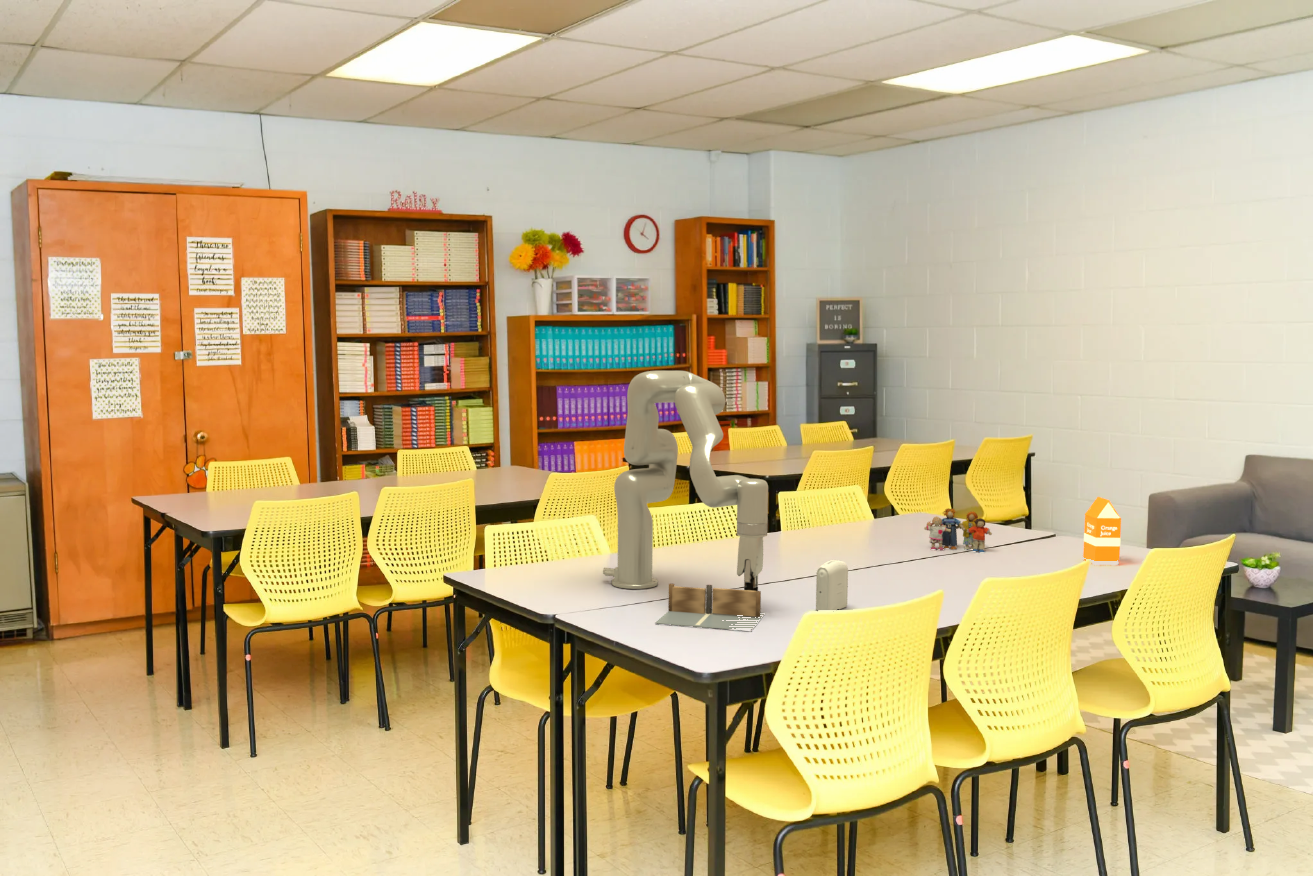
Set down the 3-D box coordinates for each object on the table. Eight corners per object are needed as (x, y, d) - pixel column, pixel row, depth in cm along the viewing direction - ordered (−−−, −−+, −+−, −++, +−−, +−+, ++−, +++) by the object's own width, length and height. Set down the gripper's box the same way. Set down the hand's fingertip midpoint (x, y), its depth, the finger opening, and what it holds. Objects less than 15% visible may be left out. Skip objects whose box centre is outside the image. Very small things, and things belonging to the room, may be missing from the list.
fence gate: (712, 613, 273) (712, 588, 273) (713, 611, 275) (713, 587, 274) (759, 616, 270) (760, 592, 270) (760, 615, 271) (761, 591, 271)
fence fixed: (667, 611, 276) (668, 582, 276) (669, 609, 278) (669, 581, 277) (711, 614, 273) (711, 586, 273) (712, 613, 275) (712, 584, 274)
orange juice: (1107, 560, 351) (1110, 496, 349) (1119, 565, 342) (1122, 500, 340) (1082, 560, 351) (1085, 496, 349) (1094, 565, 342) (1097, 500, 340)
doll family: (923, 550, 365) (924, 509, 364) (923, 544, 374) (924, 505, 373) (991, 553, 360) (993, 512, 359) (989, 548, 370) (990, 508, 369)
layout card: (654, 624, 264) (654, 622, 264) (674, 607, 282) (674, 605, 282) (751, 631, 258) (751, 630, 258) (765, 614, 276) (765, 612, 276)
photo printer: (828, 614, 276) (829, 564, 275) (813, 611, 279) (814, 562, 278) (849, 607, 284) (850, 559, 283) (834, 604, 286) (836, 556, 285)
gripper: (743, 523, 285) (741, 595, 287) (730, 533, 271) (729, 608, 272) (772, 525, 283) (771, 597, 284) (761, 534, 269) (760, 610, 270)
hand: (750, 602), depth 278 cm, fingers closed
